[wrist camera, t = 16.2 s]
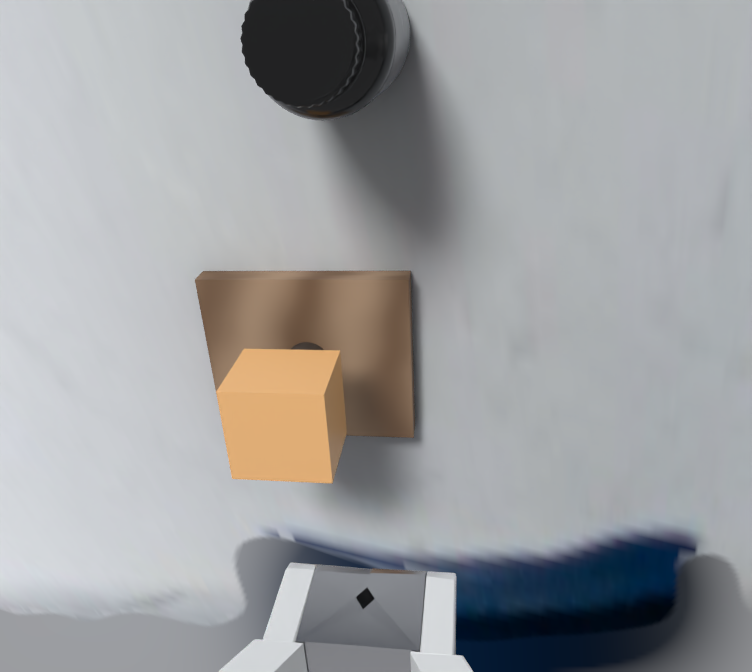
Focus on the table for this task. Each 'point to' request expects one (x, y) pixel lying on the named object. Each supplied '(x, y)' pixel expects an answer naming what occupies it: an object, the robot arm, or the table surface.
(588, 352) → the table surface
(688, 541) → the table surface
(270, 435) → the peach wooden cube
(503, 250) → the table surface
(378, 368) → the post board
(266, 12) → the supplement bottle
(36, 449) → the table surface
